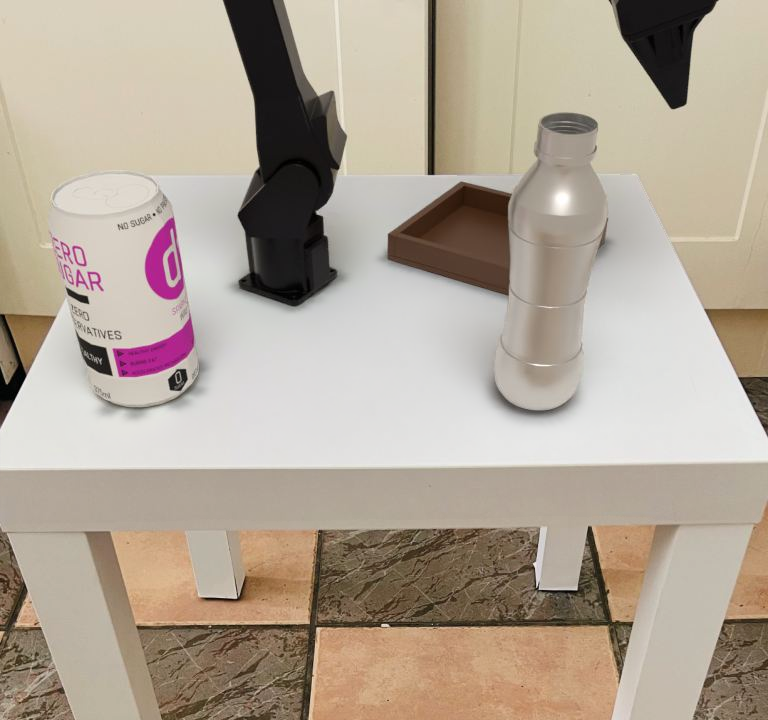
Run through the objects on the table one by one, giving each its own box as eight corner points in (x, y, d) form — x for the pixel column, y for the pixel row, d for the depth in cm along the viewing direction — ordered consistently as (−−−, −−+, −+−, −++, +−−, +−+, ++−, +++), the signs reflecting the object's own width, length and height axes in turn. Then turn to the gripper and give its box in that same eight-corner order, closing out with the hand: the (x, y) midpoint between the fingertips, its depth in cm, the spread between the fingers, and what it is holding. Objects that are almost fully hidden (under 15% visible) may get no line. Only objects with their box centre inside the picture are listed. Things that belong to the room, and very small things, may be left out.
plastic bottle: (575, 371, 71) (617, 104, 57) (580, 425, 66) (628, 146, 52) (491, 367, 71) (513, 101, 58) (490, 420, 66) (514, 143, 53)
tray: (387, 259, 85) (387, 233, 83) (459, 205, 93) (461, 180, 91) (541, 305, 78) (545, 278, 77) (604, 242, 87) (608, 217, 85)
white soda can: (214, 356, 73) (186, 171, 63) (176, 418, 67) (138, 224, 57) (119, 346, 74) (76, 162, 64) (73, 405, 68) (17, 213, 58)
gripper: (797, -193, 50) (818, 89, 59) (725, -223, 64) (751, 10, 73) (593, -107, 53) (644, 147, 63) (566, -153, 67) (611, 61, 77)
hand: (668, 85), depth 69 cm, fingers open, 9 cm apart
